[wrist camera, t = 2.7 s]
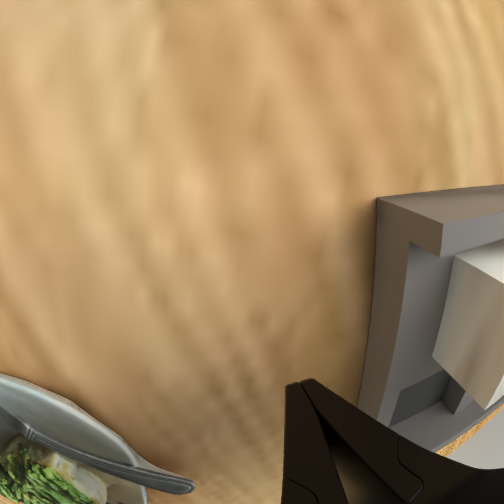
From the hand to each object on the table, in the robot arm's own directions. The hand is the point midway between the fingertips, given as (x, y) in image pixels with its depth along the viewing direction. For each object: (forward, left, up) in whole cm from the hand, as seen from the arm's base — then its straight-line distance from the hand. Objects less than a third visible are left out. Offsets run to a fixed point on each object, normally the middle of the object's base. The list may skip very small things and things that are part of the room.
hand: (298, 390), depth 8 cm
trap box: (-14, +3, -3) cm, 15 cm away
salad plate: (+17, +7, -4) cm, 18 cm away
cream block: (-10, 0, -1) cm, 10 cm away
